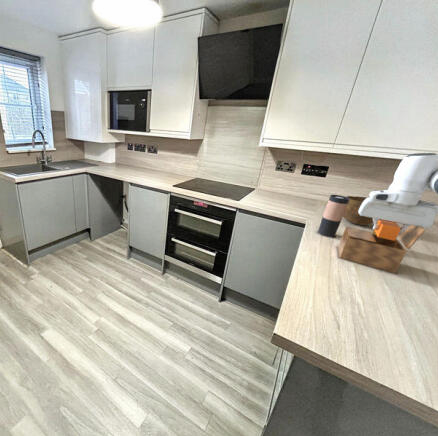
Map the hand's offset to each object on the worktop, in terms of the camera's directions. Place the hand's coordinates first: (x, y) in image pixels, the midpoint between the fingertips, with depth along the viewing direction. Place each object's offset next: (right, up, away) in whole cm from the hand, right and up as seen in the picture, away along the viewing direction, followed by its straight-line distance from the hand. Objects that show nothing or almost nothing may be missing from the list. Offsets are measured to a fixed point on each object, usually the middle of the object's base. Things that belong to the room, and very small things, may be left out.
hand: (385, 231), depth 92 cm
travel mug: (-1, -3, +29) cm, 29 cm away
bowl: (+31, +2, +48) cm, 57 cm away
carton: (-3, -12, +6) cm, 14 cm away
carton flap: (+5, -1, -4) cm, 7 cm away
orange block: (0, -2, +1) cm, 2 cm away
